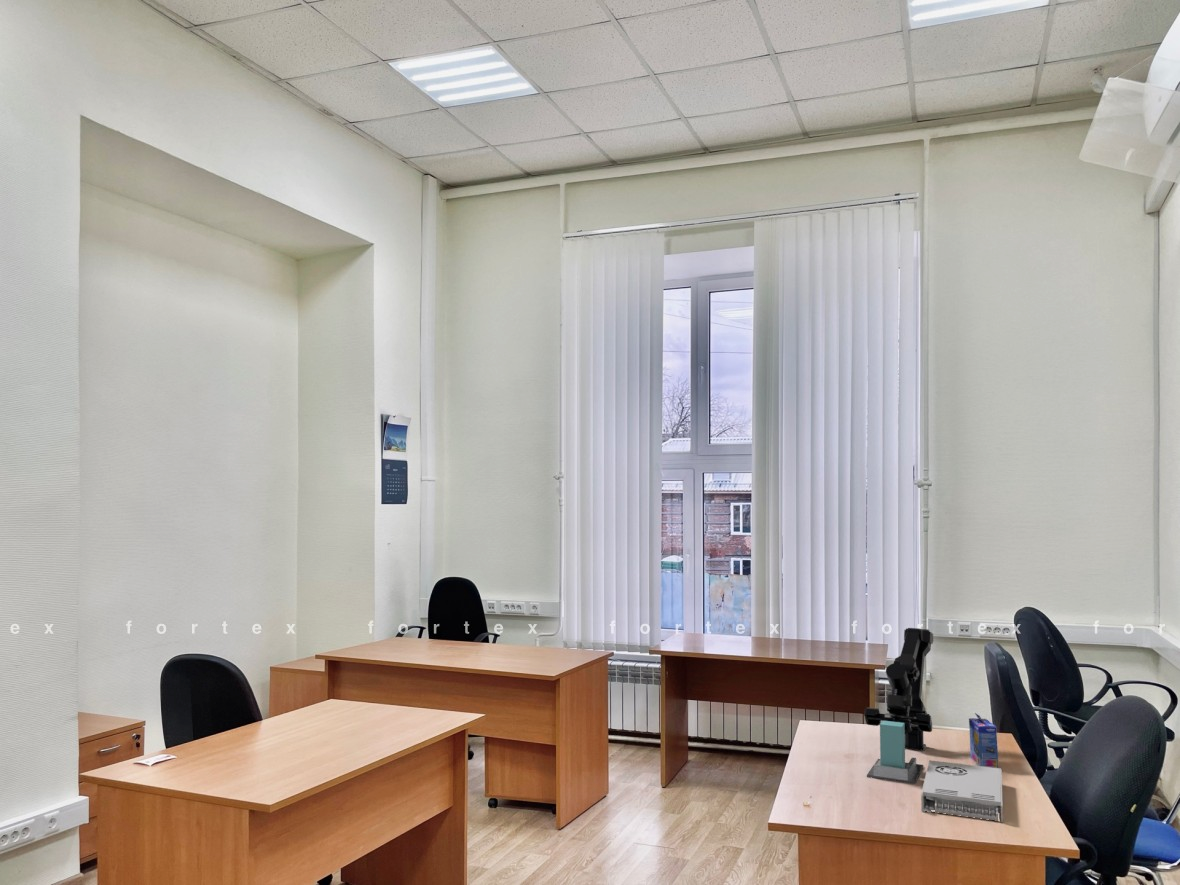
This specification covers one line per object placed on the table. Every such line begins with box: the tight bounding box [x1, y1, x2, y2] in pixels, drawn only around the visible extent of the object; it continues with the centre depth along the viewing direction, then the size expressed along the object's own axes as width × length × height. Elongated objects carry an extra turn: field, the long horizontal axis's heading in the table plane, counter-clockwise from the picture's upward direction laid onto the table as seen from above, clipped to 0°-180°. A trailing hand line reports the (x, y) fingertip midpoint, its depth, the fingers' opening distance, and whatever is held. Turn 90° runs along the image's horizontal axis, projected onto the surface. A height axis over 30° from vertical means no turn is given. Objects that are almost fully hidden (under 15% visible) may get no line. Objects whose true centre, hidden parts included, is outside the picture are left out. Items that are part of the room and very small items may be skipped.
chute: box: [866, 757, 924, 785], centre depth 260 cm, size 18×13×4 cm
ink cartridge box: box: [968, 712, 999, 768], centre depth 270 cm, size 10×6×14 cm, turn 174°
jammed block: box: [879, 721, 906, 768], centre depth 257 cm, size 5×6×14 cm
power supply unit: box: [920, 759, 1004, 823], centre depth 238 cm, size 19×33×5 cm, turn 156°
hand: (895, 744), depth 260 cm, fingers closed
